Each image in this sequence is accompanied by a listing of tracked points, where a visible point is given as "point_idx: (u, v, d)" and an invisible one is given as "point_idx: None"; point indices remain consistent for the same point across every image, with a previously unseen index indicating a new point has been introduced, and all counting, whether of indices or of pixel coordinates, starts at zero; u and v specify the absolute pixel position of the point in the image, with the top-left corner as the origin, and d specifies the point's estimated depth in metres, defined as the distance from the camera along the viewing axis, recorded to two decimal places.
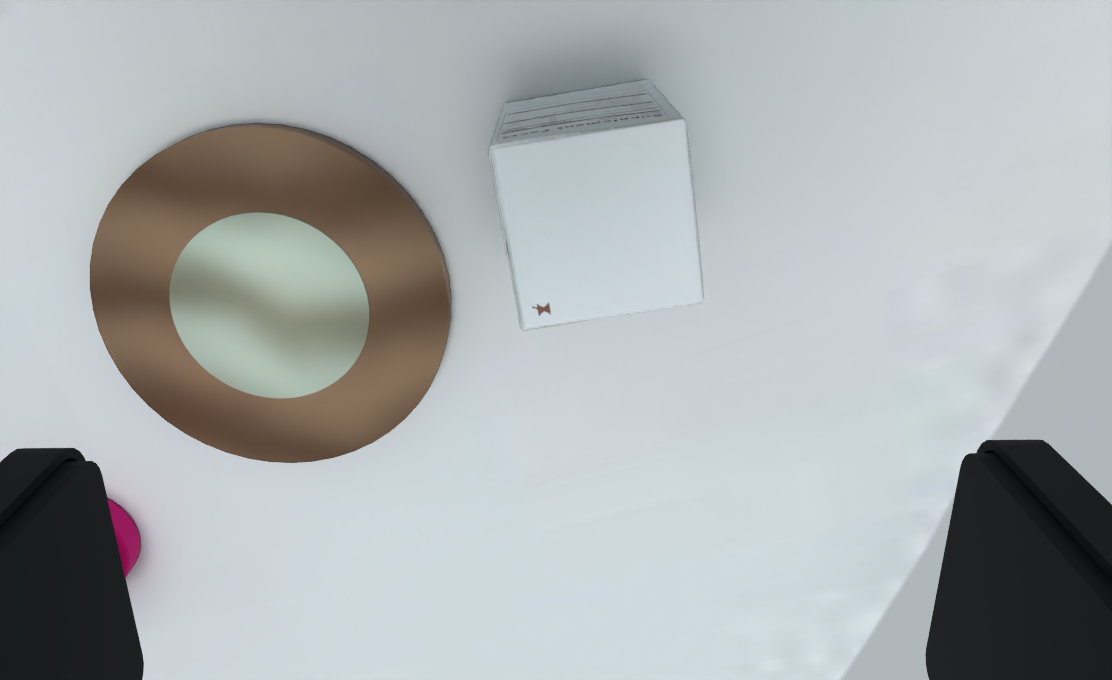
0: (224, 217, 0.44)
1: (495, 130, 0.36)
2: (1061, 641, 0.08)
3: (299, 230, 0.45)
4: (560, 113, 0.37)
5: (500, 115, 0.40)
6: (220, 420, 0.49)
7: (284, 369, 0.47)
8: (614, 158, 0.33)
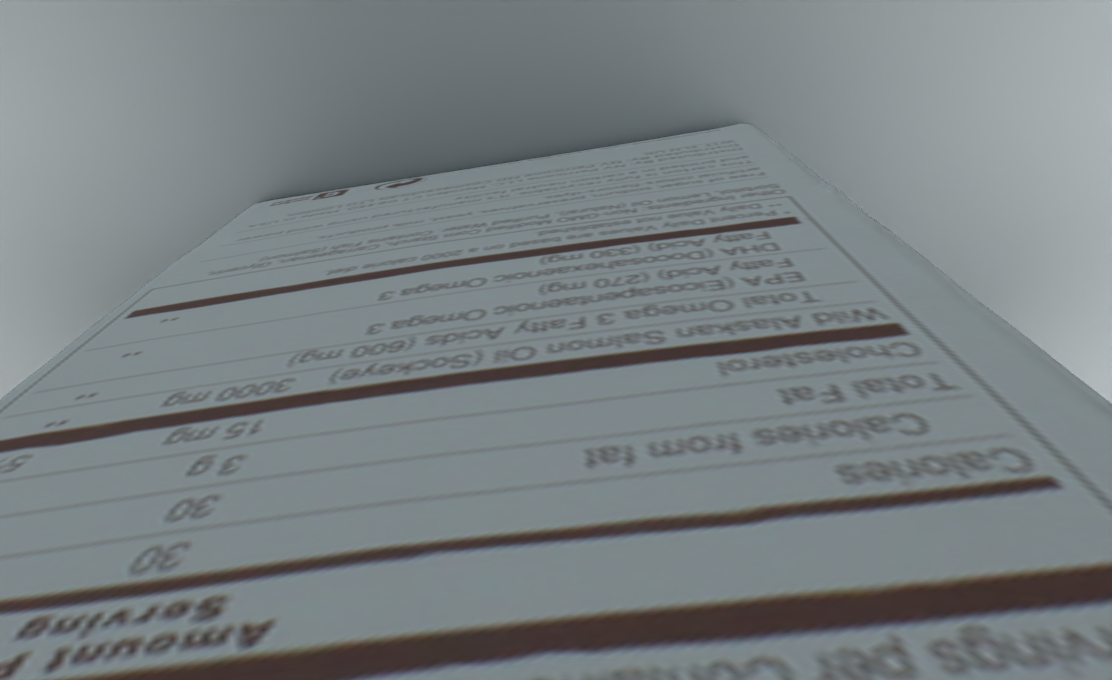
0: None
1: None
2: None
3: None
4: (310, 390, 0.06)
5: None
6: None
7: None
8: None
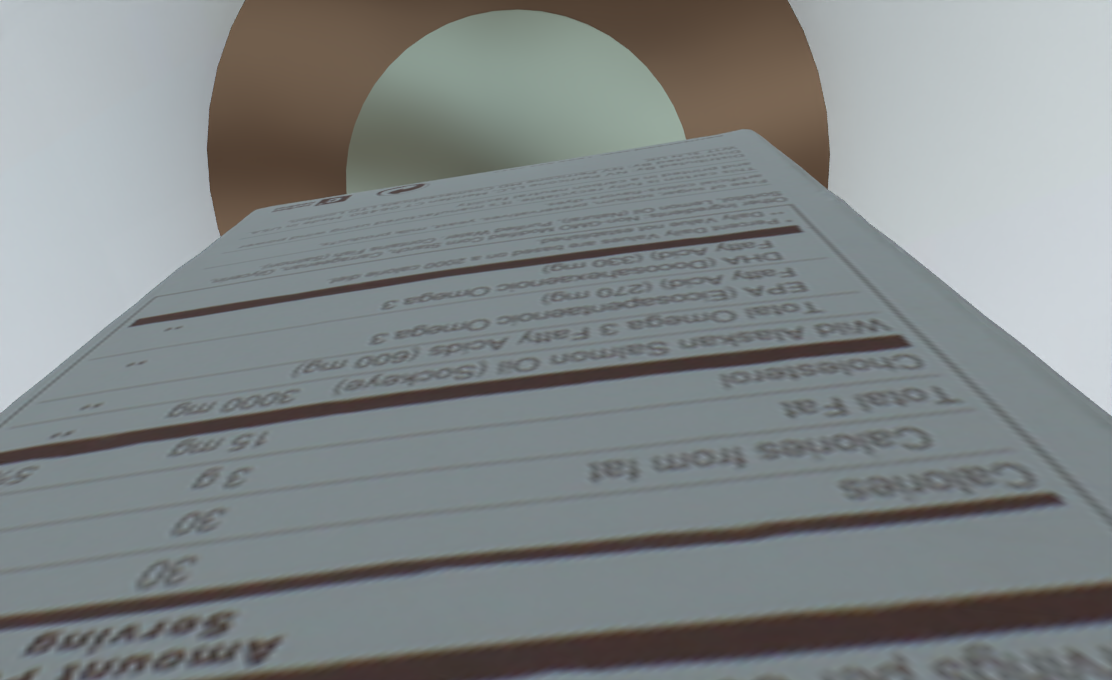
0: (457, 18, 0.25)
1: None
2: None
3: (589, 45, 0.25)
4: (315, 401, 0.06)
5: (119, 316, 0.09)
6: None
7: None
8: None
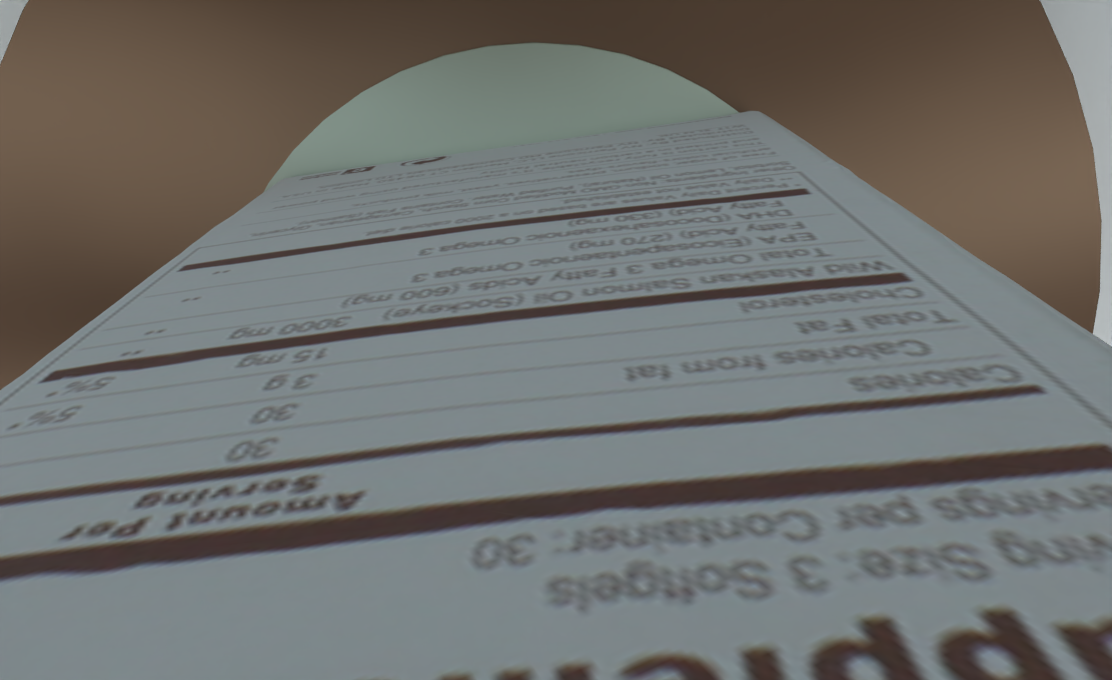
0: (419, 61, 0.13)
1: None
2: None
3: (670, 109, 0.13)
4: (366, 324, 0.06)
5: (165, 264, 0.09)
6: None
7: None
8: None
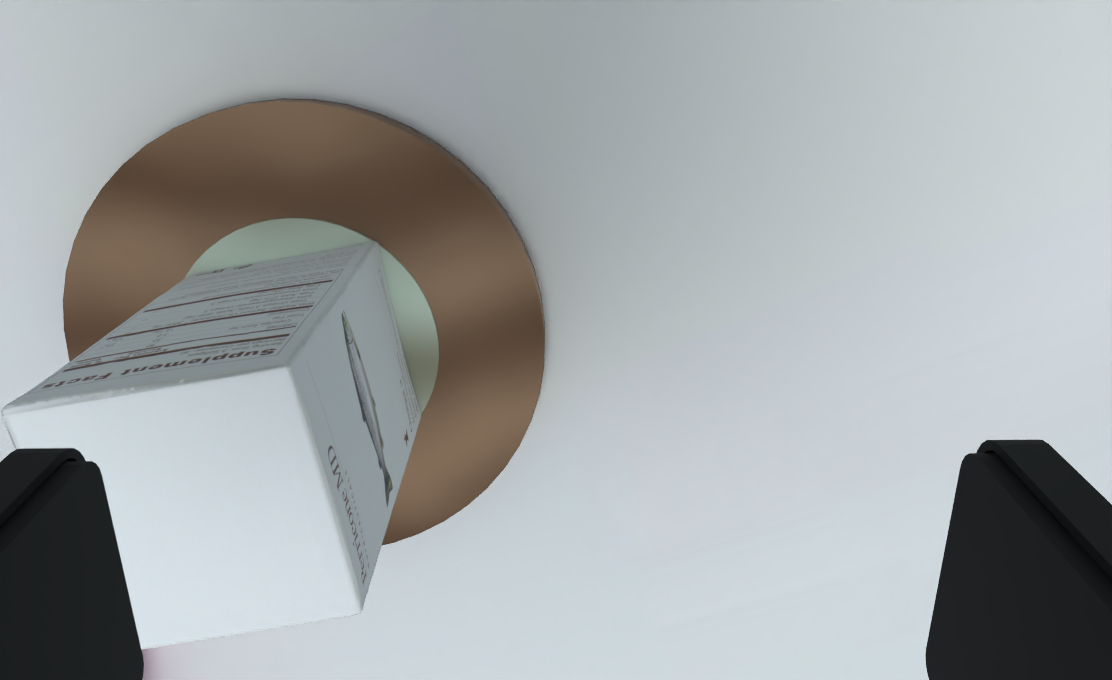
0: (242, 227, 0.33)
1: (77, 356, 0.25)
2: (1061, 641, 0.08)
3: (343, 241, 0.33)
4: (185, 323, 0.26)
5: None
6: None
7: None
8: (190, 424, 0.22)
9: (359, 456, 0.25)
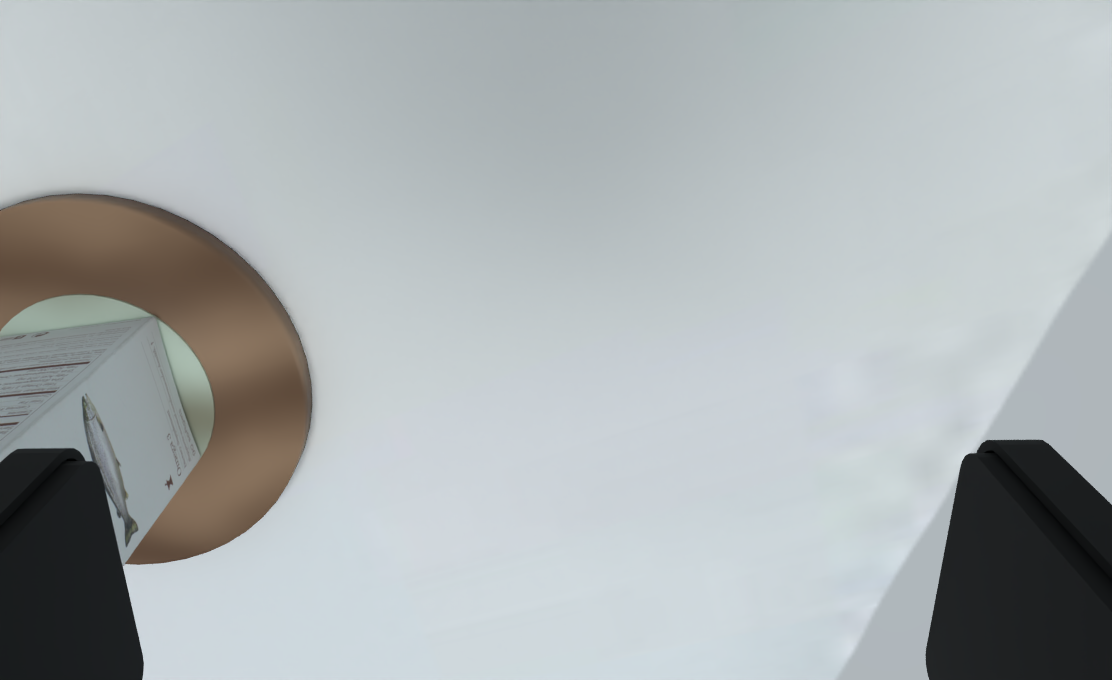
0: (41, 300, 0.39)
1: None
2: (1061, 641, 0.08)
3: (127, 314, 0.39)
4: None
5: None
6: None
7: None
8: None
9: None
